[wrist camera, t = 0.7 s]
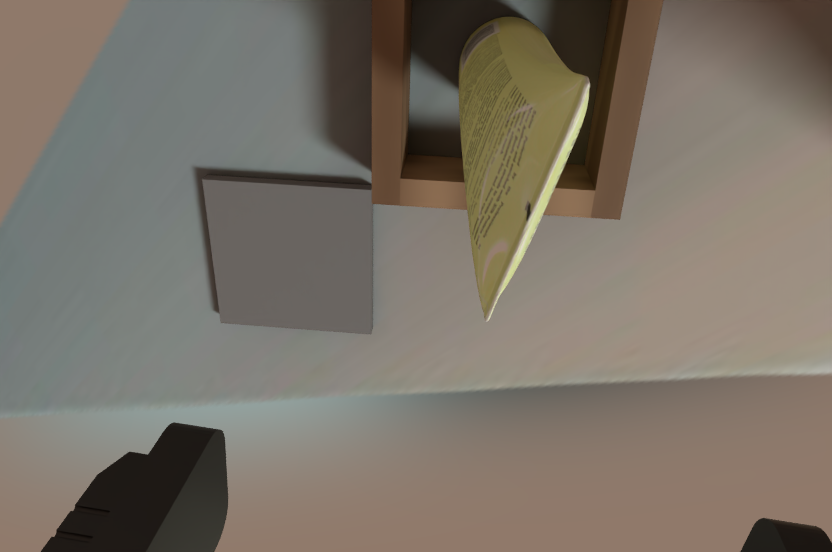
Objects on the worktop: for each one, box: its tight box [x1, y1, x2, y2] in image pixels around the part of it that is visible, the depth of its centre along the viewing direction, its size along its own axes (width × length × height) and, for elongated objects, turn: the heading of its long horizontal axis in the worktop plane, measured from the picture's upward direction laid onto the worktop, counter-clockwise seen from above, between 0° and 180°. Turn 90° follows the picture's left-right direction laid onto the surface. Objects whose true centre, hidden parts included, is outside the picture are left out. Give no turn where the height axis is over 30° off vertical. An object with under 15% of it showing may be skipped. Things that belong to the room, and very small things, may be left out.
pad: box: [202, 175, 373, 334], centre depth 41 cm, size 10×10×1 cm
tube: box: [459, 17, 590, 322], centre depth 26 cm, size 6×5×20 cm
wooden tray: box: [372, 0, 663, 220], centre depth 33 cm, size 13×13×4 cm
